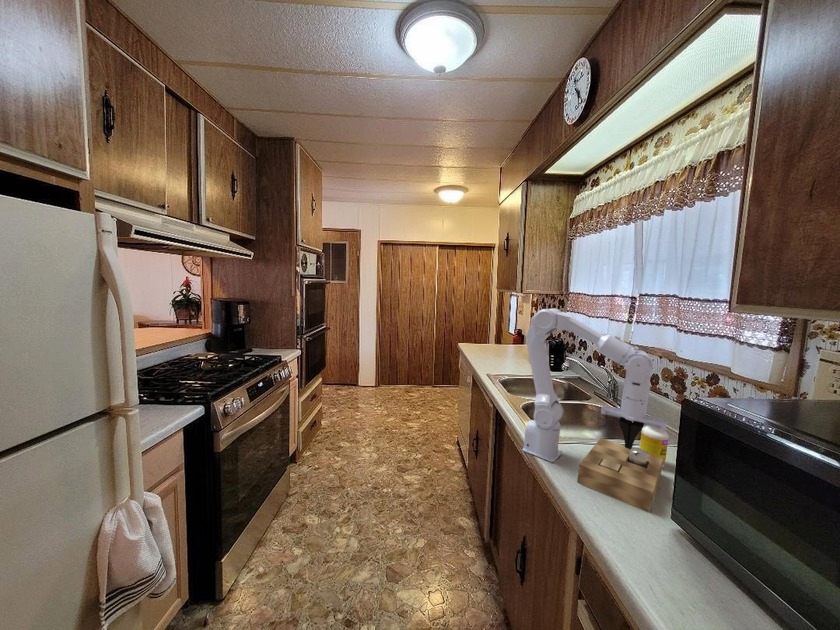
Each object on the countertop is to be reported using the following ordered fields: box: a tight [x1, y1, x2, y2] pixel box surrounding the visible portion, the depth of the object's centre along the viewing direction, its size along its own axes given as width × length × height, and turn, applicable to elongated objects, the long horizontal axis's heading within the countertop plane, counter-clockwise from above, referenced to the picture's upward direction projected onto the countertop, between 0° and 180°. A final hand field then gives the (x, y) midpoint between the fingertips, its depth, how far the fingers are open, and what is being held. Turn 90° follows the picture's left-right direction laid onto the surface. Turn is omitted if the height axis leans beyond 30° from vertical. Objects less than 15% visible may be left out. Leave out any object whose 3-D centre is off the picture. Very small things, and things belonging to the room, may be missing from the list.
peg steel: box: [629, 446, 648, 468], centre depth 92 cm, size 4×4×5 cm
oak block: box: [576, 438, 663, 513], centre depth 92 cm, size 16×22×5 cm
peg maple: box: [600, 459, 621, 472], centre depth 89 cm, size 4×4×5 cm
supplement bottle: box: [638, 425, 670, 468], centre depth 101 cm, size 7×7×13 cm
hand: (628, 447), depth 90 cm, fingers closed
